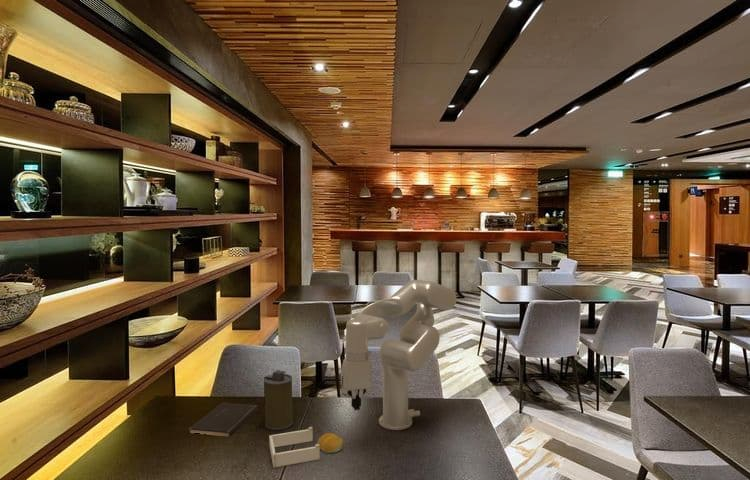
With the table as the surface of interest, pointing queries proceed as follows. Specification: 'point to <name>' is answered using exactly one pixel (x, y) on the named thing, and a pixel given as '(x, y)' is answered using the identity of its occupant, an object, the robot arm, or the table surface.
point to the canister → (278, 400)
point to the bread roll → (330, 443)
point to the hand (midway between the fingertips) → (356, 408)
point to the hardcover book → (224, 419)
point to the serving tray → (293, 455)
